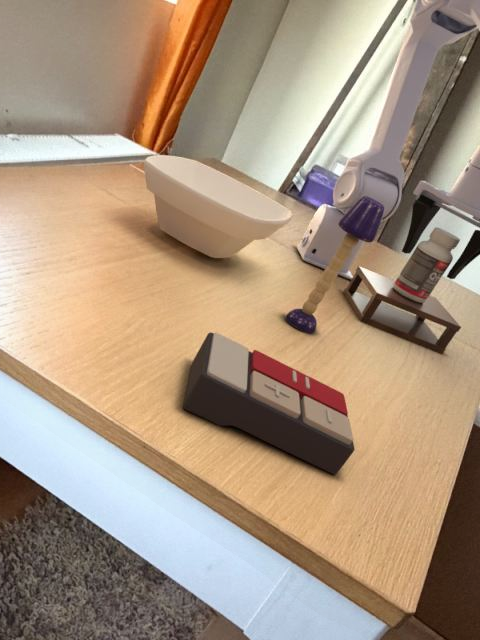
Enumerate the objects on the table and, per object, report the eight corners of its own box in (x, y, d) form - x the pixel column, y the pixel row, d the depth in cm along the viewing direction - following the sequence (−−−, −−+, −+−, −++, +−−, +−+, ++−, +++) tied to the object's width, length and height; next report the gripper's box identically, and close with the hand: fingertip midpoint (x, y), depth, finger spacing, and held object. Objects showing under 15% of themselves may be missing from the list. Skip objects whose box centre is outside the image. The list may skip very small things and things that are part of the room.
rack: (360, 320, 110) (377, 292, 107) (342, 292, 119) (358, 265, 117) (442, 353, 112) (461, 327, 109) (419, 323, 122) (436, 297, 119)
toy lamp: (319, 329, 99) (391, 205, 90) (317, 340, 95) (392, 212, 86) (286, 313, 99) (354, 188, 90) (283, 323, 95) (354, 193, 86)
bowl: (277, 270, 115) (306, 216, 110) (229, 288, 99) (260, 225, 94) (167, 209, 120) (189, 154, 115) (104, 216, 104) (127, 153, 99)
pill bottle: (419, 306, 110) (461, 242, 105) (387, 288, 112) (426, 225, 106) (427, 302, 114) (467, 240, 109) (396, 284, 116) (434, 223, 110)
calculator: (361, 444, 64) (205, 367, 63) (332, 482, 67) (182, 408, 66) (349, 392, 73) (212, 323, 72) (324, 426, 76) (192, 361, 75)
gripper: (542, 197, 103) (478, 288, 110) (449, 152, 108) (395, 241, 116) (530, 194, 98) (465, 290, 105) (434, 147, 103) (379, 241, 111)
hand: (427, 264), depth 110 cm, fingers open, 7 cm apart
